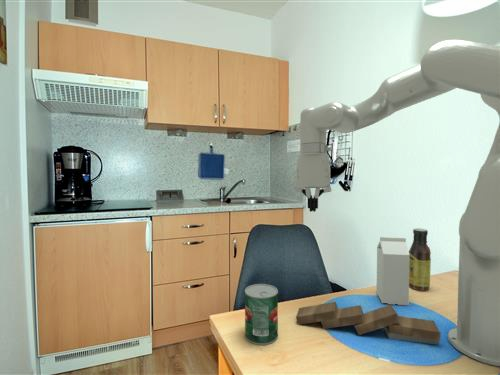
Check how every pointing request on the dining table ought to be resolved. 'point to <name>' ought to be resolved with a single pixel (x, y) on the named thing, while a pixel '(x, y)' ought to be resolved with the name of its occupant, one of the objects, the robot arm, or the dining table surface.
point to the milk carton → (393, 271)
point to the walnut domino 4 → (416, 328)
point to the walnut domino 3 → (378, 319)
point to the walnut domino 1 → (317, 313)
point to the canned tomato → (261, 314)
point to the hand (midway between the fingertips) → (312, 210)
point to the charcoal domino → (408, 337)
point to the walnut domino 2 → (346, 317)
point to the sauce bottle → (419, 261)
